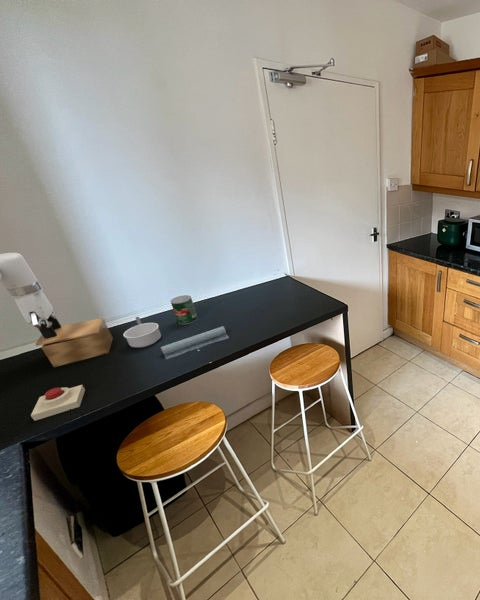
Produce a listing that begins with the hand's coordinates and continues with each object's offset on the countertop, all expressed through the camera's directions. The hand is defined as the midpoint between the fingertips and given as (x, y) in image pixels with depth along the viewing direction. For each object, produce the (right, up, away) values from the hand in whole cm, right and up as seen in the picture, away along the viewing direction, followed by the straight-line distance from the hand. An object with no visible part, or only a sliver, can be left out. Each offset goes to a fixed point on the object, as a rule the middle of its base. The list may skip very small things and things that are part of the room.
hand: (53, 332), depth 115 cm
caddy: (+4, -8, +7) cm, 12 cm away
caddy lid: (+4, 0, +3) cm, 5 cm away
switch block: (+22, -21, -17) cm, 35 cm away
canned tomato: (+30, +2, +29) cm, 42 cm away
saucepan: (+20, -4, +17) cm, 27 cm away
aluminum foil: (+46, -7, +11) cm, 48 cm away
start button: (+22, -18, -19) cm, 34 cm away
